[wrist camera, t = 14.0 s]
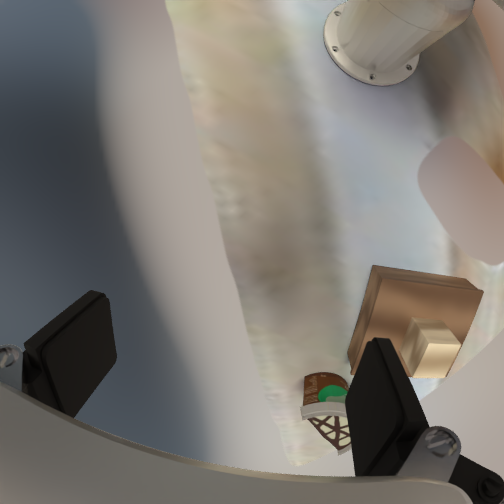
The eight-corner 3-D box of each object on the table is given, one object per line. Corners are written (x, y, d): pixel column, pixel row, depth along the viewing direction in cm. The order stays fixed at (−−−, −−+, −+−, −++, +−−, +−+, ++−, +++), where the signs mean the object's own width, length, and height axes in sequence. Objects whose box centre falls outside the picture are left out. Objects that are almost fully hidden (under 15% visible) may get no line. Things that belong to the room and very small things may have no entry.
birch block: (411, 317, 33) (428, 343, 28) (442, 320, 33) (461, 344, 27) (398, 349, 35) (412, 377, 29) (428, 351, 35) (444, 377, 29)
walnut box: (371, 263, 37) (382, 278, 32) (466, 277, 36) (483, 291, 31) (345, 353, 42) (350, 374, 37) (435, 357, 41) (446, 376, 36)
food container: (366, 398, 44) (376, 441, 35) (334, 412, 46) (339, 456, 36) (335, 353, 42) (343, 399, 32) (299, 370, 44) (300, 417, 34)
